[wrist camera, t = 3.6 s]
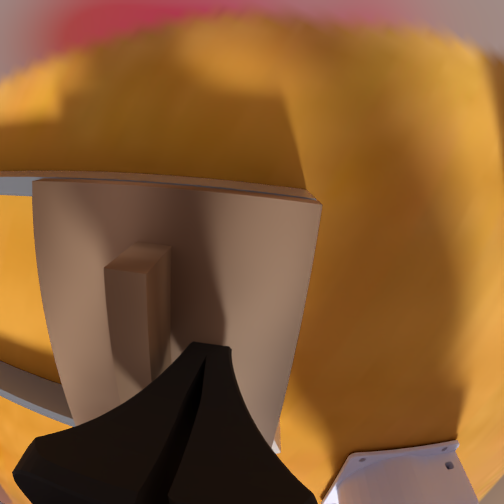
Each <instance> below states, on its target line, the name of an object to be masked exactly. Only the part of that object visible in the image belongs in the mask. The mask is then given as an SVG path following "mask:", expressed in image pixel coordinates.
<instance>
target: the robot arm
mask: <svg viewBox="0 0 504 504" xmlns="http://www.w3.org/2000/svg"><path fill="white" fill-rule="evenodd" d="M458 446H459V442H458V440H454V441H448V442H443V443H437V444H431V445H425V446H418V447H411V448H403V449H394V450H384V451H372V452H357V453H353V454H351V455H349V456H348V458H347V460H346V461H345V463H344V465H343V467H342V468H341V470H340V472H339V474H338V475H337V477H336V479H335V481H334V482H333V484H332V486H331V487H330V489H329V491H328V492H327V494H326V495H325V497H324V499H323V500H322V502H321V504H479V502H478V499H477V497H476V495H475V492H474V490H473V488H472V486H471V484H470V481H469V479H468V477H467V475H466V473H465V471H464V469H463V466H462V464H461V462H460V460H459V458H458V456H457V454H456V452H455V450H456V449H457V448H458ZM12 473H13V478H14V480H15V482H16V484H17V485H18V487H19V488H20V489H21V490H22V492H23V493H24V494H25V495H26V497H27V498H28V499H29V500H30V501H31V503H32V504H318V503H317V501H316V498H315V496H314V494H313V493H312V492H311V491H310V490H309V489H307V488H306V487H305V486H304V485H303V484H302V483H301V482H300V481H299V480H298V479H297V478H296V477H295V476H294V475H293V474H292V473H291V472H290V471H289V469H288V468H287V467H286V466H285V465H284V464H283V463H282V462H281V460H280V459H279V458H278V456H277V455H276V454H275V452H274V451H273V450H272V448H271V447H270V446H269V444H268V443H267V442H266V440H265V439H264V437H263V436H262V434H261V432H260V431H259V429H258V428H257V426H256V424H255V422H254V420H253V419H252V417H251V415H250V413H249V411H248V409H247V406H246V404H245V402H244V399H243V397H242V394H241V392H240V389H239V386H238V383H237V380H236V376H235V373H234V368H233V363H232V349H231V348H230V347H229V346H222V345H215V344H207V343H200V342H194V341H193V342H192V343H190V344H189V345H188V346H187V348H186V349H185V350H184V351H183V352H182V353H181V355H180V356H179V357H178V358H177V359H176V360H175V361H174V362H173V363H172V364H171V365H170V366H169V367H168V368H167V369H166V370H165V371H164V372H163V373H162V374H161V375H159V376H158V377H157V378H156V379H155V380H154V381H152V382H151V383H150V384H149V385H148V386H146V387H145V388H144V389H143V390H141V391H140V392H139V393H137V394H136V395H135V396H133V397H132V398H130V399H129V400H127V401H126V402H124V403H123V404H121V405H119V406H117V407H116V408H114V409H112V410H110V411H109V412H107V413H105V414H103V415H101V416H99V417H97V418H95V419H93V420H90V421H88V422H85V423H83V424H81V425H78V426H75V427H72V428H70V429H66V430H63V431H60V432H56V433H52V434H48V435H45V436H40V437H36V438H35V439H34V440H33V442H32V443H31V444H30V445H29V446H28V448H27V449H26V451H25V453H24V454H23V456H22V457H21V459H20V461H19V462H18V464H17V466H16V467H15V469H14V470H13V472H12ZM0 504H4V503H2V502H1V501H0Z"/></svg>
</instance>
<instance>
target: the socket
mask: <svg viewBox="0 0 504 504" xmlns="http://www.w3.org/2000/svg"><path fill="white" fill-rule="evenodd" d="M44 178H52V179H85V180H108V181H126V182H142V183H157V184H170V185H183V186H194V187H205V188H216V189H226V190H236V191H245V192H254V193H263V194H271V195H279V196H287V197H295V198H302V199H310V200H316V198H315V197H314V196H313V195H312V194H311V193H310V192H309V191H307V190H305V189H298V188H290V187H283V186H275V185H266V184H258V183H249V182H240V181H230V180H220V179H209V178H198V177H185V176H172V175H158V174H141V173H122V172H97V171H0V195H16V196H32V181H35V180H39V179H44ZM0 396H2V397H4V398H6V399H8V400H10V401H12V402H14V403H17V404H19V405H21V406H23V407H25V408H28V409H30V410H32V411H35V412H37V413H39V414H42V415H44V416H47V417H49V418H52V419H54V420H57V421H59V422H62V423H65V424H67V425H70V426H73V427H75V426H76V425H75V423H74V420H73V417H72V414H71V411H70V408H69V406H68V403H67V399H66V396H65V393H64V390H63V387H62V385H61V384H58V383H55V382H52V381H49V380H47V379H44V378H41V377H39V376H36V375H33V374H31V373H28V372H26V371H23V370H21V369H18V368H16V367H13V366H11V365H8V364H6V363H4V362H2V361H0ZM272 450H273V451H274V452H275V454H276V453H281V442H280V420H279V422H278V426H277V430H276V433H275V437H274V441H273V445H272Z"/></svg>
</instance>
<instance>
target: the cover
mask: <svg viewBox="0 0 504 504" xmlns="http://www.w3.org/2000/svg"><path fill="white" fill-rule="evenodd" d="M32 204H33V225H34V239H35V250H36V260H37V268H38V276H39V283H40V290H41V296H42V302H43V308H44V313H45V318H46V323H47V328H48V333H49V337H50V342H51V346H52V350H53V354H54V358H55V362H56V366H57V369H58V373H59V376H60V380H61V383H62V387H63V390H64V393H65V396H66V399H67V403H68V406H69V408H70V411H71V414H72V417H73V420H74V423H75V425H76V426H78V425H81V424H83V423H85V422H88V421H90V420H93V419H95V418H97V417H99V416H101V415H103V414H105V413H107V412H109V411H110V410H112V409H114V408H116V407H117V406H119V405H121V404H123V403H124V402H126V401H127V400H129V399H130V398H132V397H133V396H135V395H136V394H137V393H139V392H140V391H141V390H143V389H144V388H145V387H146V386H148V385H149V384H150V383H151V382H152V381H154V380H155V379H156V378H157V377H158V376H159V375H161V374H162V373H163V372H164V371H165V370H166V369H167V368H168V367H169V366H170V365H171V364H172V363H173V362H174V361H175V360H176V359H177V358H178V357H179V356H180V355H181V353H182V352H183V351H184V350H185V349H186V348H187V346H188V345H189V344H190V343H192V342H193V341H194V342H200V343H207V344H215V345H222V346H229V347H230V348H231V349H232V363H233V368H234V373H235V376H236V380H237V383H238V386H239V389H240V392H241V394H242V397H243V399H244V402H245V404H246V406H247V409H248V411H249V413H250V415H251V417H252V419H253V420H254V422H255V424H256V426H257V428H258V429H259V431H260V432H261V434H262V436H263V437H264V439H265V440H266V442H267V443H268V444H269V446H270V447H271V448H272V445H273V441H274V437H275V433H276V430H277V426H278V422H279V418H280V414H281V410H282V406H283V402H284V398H285V394H286V389H287V385H288V381H289V377H290V372H291V368H292V363H293V359H294V355H295V350H296V345H297V341H298V336H299V331H300V327H301V322H302V317H303V312H304V307H305V302H306V297H307V291H308V286H309V281H310V275H311V270H312V264H313V259H314V253H315V247H316V241H317V236H318V229H319V223H320V217H321V211H322V204H321V203H320V202H319V201H317V200H310V199H302V198H295V197H287V196H279V195H271V194H263V193H254V192H245V191H236V190H226V189H216V188H205V187H194V186H183V185H170V184H157V183H142V182H126V181H108V180H85V179H52V178H44V179H39V180H35V181H32Z"/></svg>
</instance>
